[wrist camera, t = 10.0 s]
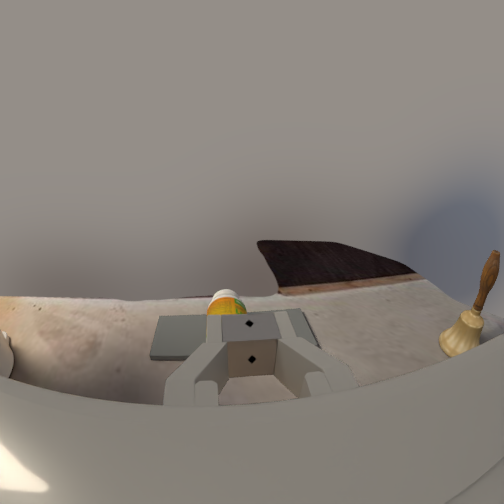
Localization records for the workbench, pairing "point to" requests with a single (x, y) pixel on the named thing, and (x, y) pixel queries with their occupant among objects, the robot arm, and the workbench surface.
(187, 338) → the mat
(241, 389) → the workbench surface
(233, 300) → the supplement bottle
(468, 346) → the hand bell
